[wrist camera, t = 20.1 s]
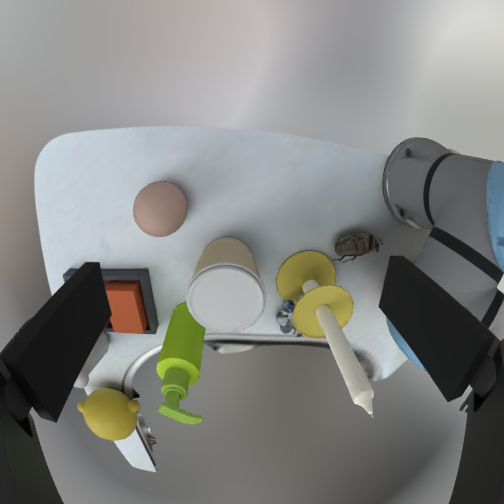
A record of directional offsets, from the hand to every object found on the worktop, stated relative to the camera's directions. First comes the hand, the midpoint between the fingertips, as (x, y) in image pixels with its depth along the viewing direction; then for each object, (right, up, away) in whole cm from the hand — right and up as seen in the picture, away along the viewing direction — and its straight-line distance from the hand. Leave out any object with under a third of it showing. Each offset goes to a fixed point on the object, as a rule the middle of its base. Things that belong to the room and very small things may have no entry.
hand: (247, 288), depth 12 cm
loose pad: (-20, -6, +32) cm, 38 cm away
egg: (-12, +9, +27) cm, 31 cm away
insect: (+16, +1, +28) cm, 32 cm away
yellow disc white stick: (+9, -3, +33) cm, 34 cm away
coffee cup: (-4, 0, +31) cm, 31 cm away
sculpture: (-34, -37, +42) cm, 65 cm away
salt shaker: (-30, -15, +35) cm, 48 cm away
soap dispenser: (-10, -10, +34) cm, 37 cm away
